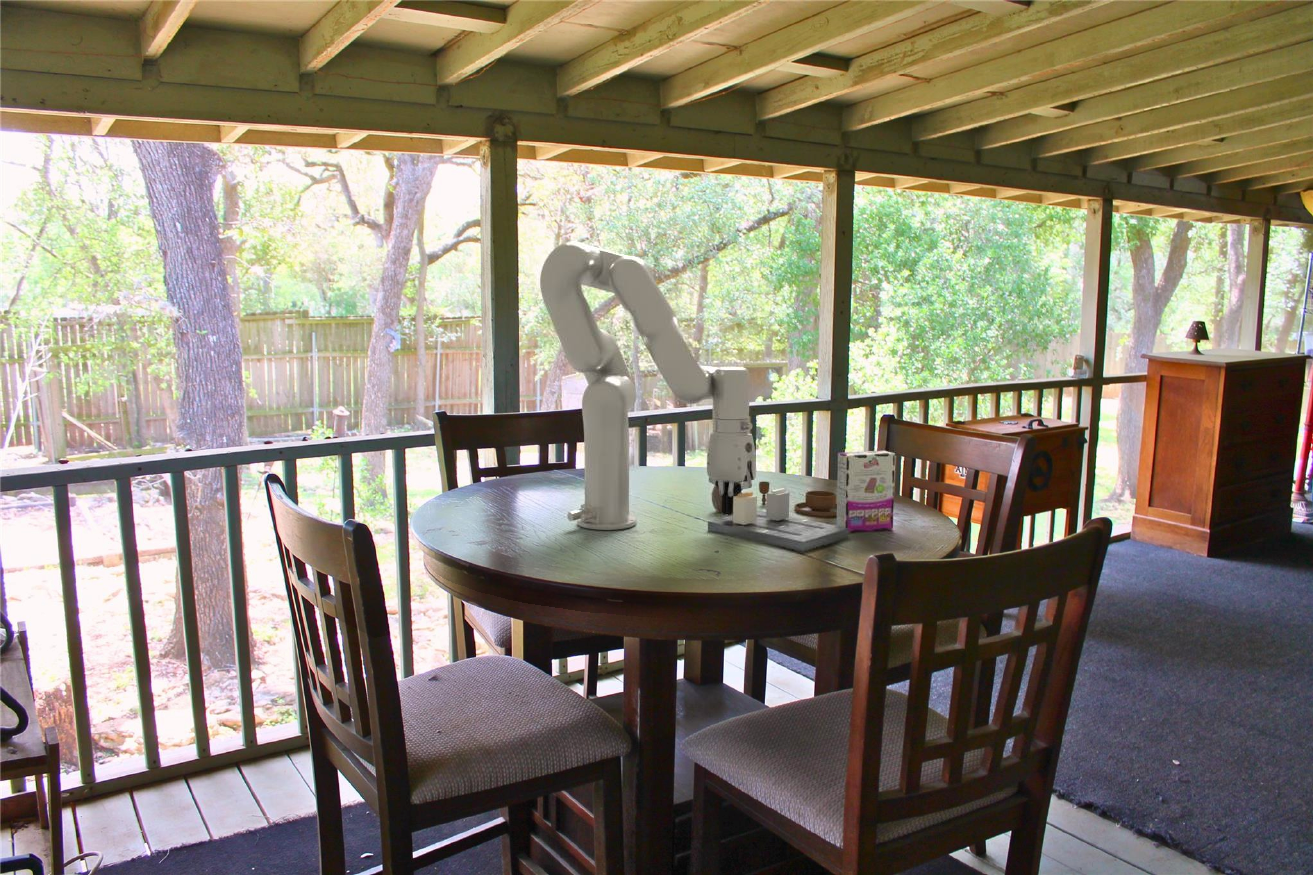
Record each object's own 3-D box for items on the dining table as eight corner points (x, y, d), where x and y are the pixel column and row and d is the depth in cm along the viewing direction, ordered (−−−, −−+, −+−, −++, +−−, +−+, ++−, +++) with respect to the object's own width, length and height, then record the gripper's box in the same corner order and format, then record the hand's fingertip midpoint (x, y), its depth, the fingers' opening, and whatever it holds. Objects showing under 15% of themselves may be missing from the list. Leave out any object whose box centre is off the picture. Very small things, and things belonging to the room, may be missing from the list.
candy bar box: (881, 525, 196) (884, 449, 194) (893, 530, 191) (896, 453, 189) (834, 527, 193) (837, 451, 191) (845, 533, 188) (848, 455, 186)
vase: (739, 516, 204) (740, 477, 203) (709, 514, 205) (710, 476, 204) (743, 509, 211) (744, 472, 209) (713, 508, 212) (714, 471, 211)
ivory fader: (744, 524, 185) (744, 495, 184) (732, 522, 187) (733, 493, 186) (756, 521, 188) (757, 492, 187) (745, 519, 190) (745, 490, 189)
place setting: (804, 523, 200) (805, 496, 199) (753, 506, 217) (754, 482, 217) (866, 515, 208) (867, 490, 207) (812, 500, 226) (813, 476, 225)
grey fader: (777, 520, 189) (778, 491, 188) (765, 518, 191) (766, 490, 190) (789, 517, 192) (789, 489, 191) (777, 515, 194) (778, 487, 193)
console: (803, 551, 173) (803, 541, 173) (707, 530, 190) (707, 520, 189) (848, 537, 185) (849, 527, 184) (755, 518, 201) (755, 509, 201)
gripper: (770, 428, 186) (769, 516, 188) (714, 422, 196) (713, 505, 198) (748, 431, 180) (746, 522, 183) (691, 425, 190) (690, 511, 193)
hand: (729, 513), depth 190 cm, fingers closed
